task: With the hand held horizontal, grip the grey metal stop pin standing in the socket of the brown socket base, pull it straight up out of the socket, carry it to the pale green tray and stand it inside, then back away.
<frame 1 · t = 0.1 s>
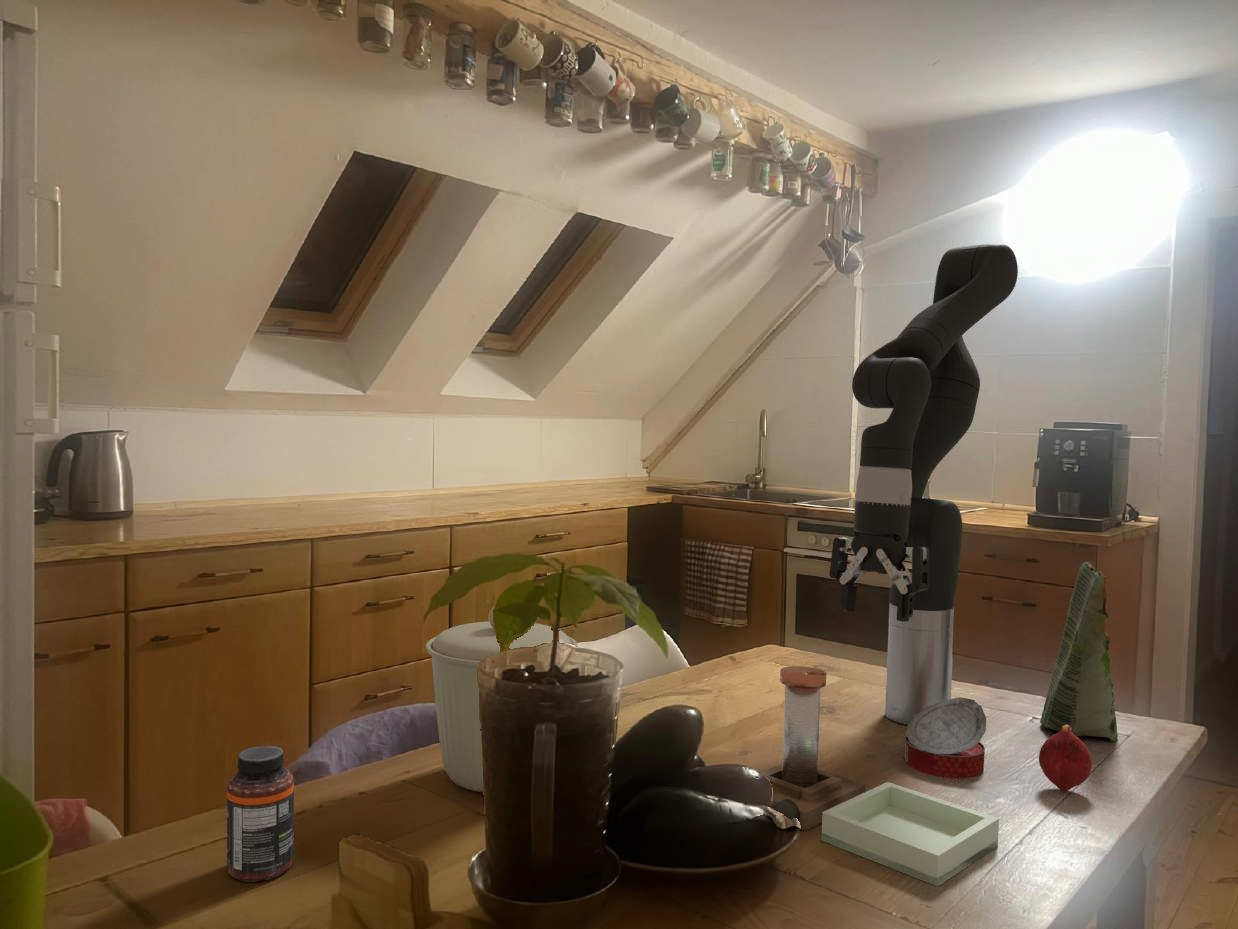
hand: (875, 616, 131), 17 cm above the table, tool pointing down, fingers open, 8 cm apart
onion: (1063, 792, 114), on the table
canned food: (943, 767, 122), on the table
pouch: (1081, 734, 136), on the table
canister: (499, 779, 113), on the table
tray: (909, 843, 98), on the table
supplement bottle: (260, 871, 89), on the table
stop pin: (799, 785, 108), point 2 cm above the table, touching brown socket base
brown socket base: (798, 802, 108), on the table
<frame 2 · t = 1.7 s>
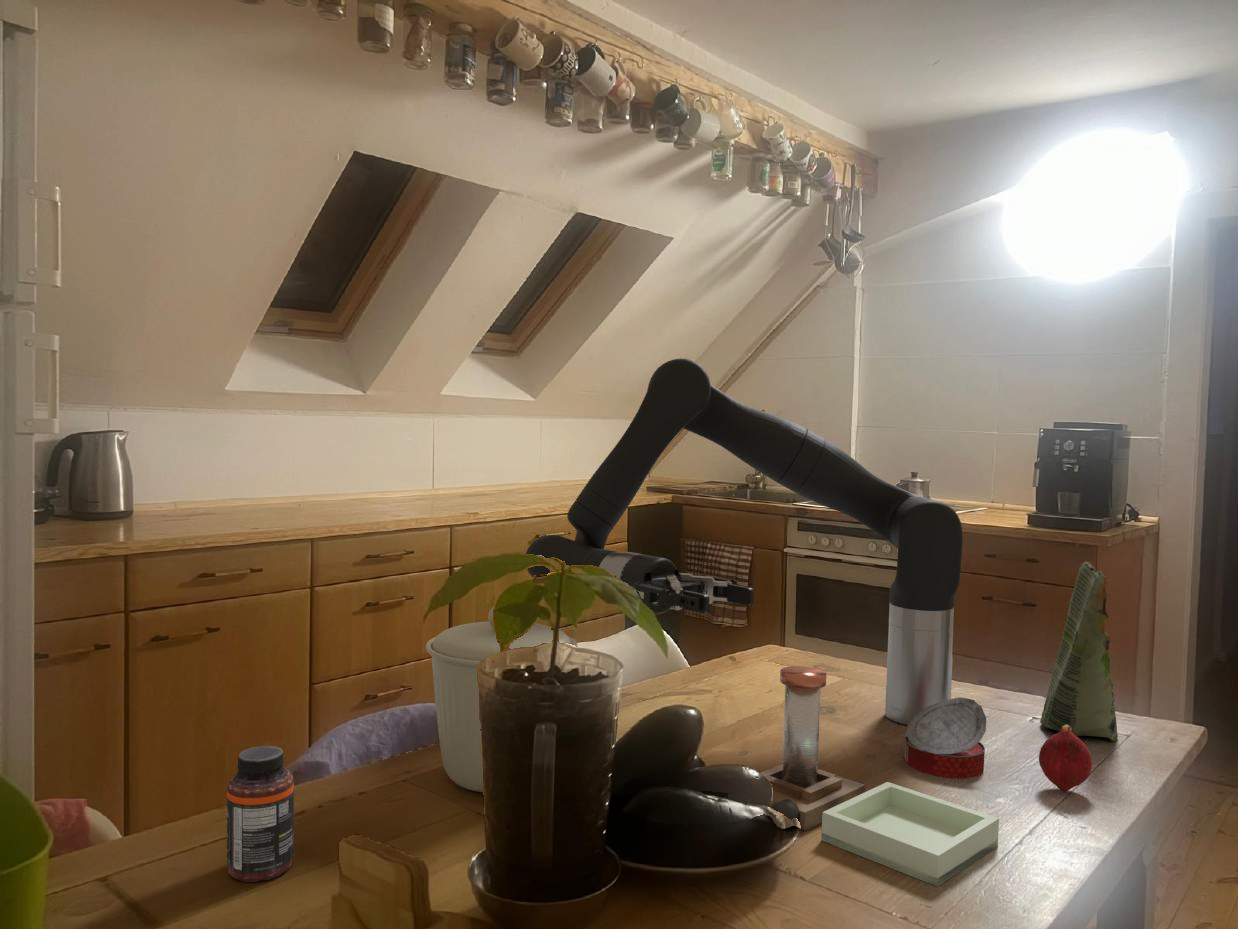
hand: (730, 600, 115), 22 cm above the table, tool horizontal, fingers open, 8 cm apart
nothing on the table moved.
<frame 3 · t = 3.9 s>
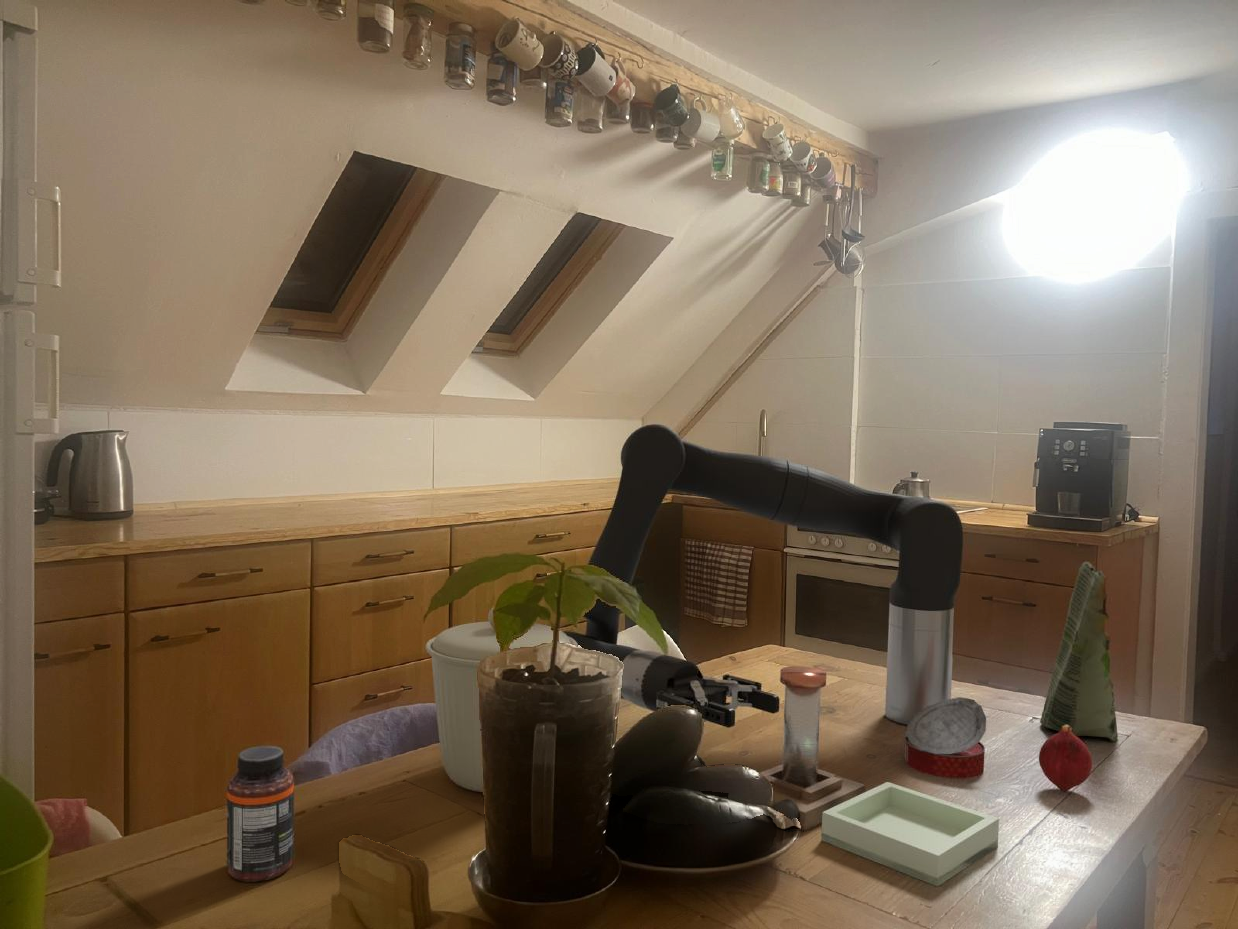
hand: (756, 711, 112), 9 cm above the table, tool horizontal, fingers open, 8 cm apart
nothing on the table moved.
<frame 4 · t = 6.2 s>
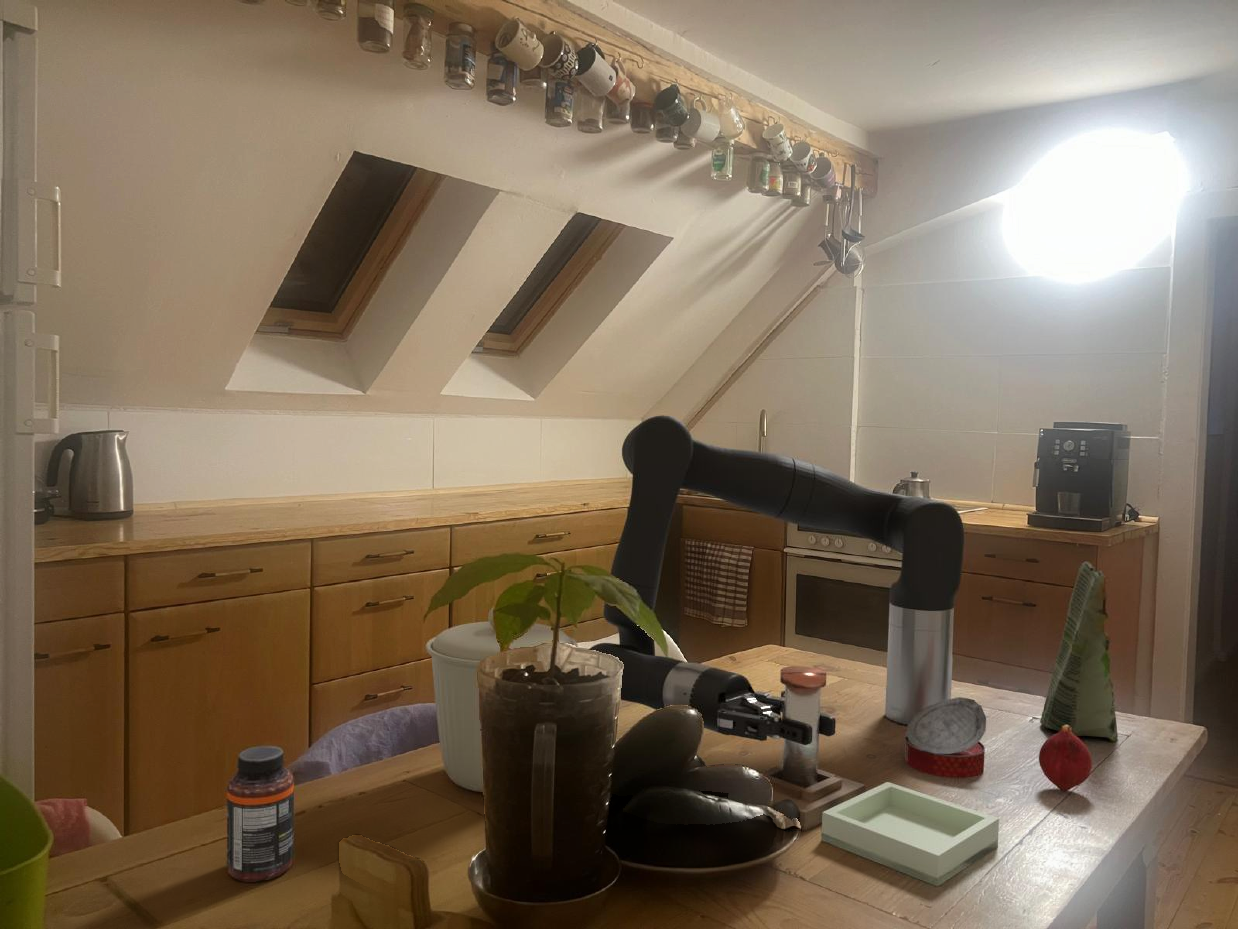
hand: (821, 731, 106), 9 cm above the table, tool horizontal, fingers closed on stop pin, 4 cm apart
stop pin: (799, 785, 108), point 2 cm above the table, touching gripper, brown socket base
everything else where it was.
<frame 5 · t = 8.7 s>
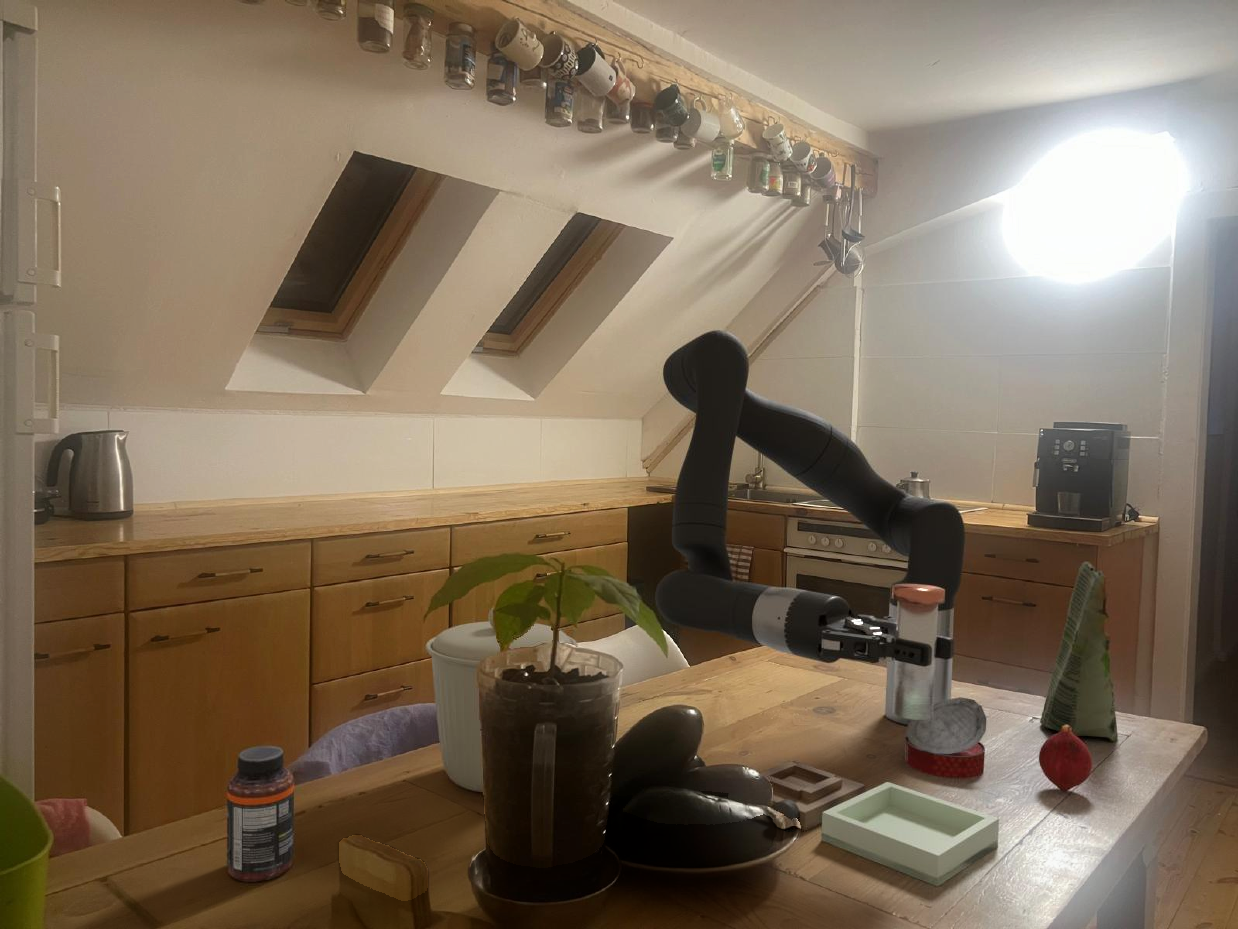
hand: (940, 652, 95), 21 cm above the table, tool horizontal, fingers closed on stop pin, 4 cm apart
stop pin: (912, 713, 97), point 14 cm above the table, touching gripper
everything else where it was.
when the fingers open (9 cm above the table, at t = 11.2 s): stop pin stays where it is, resting on tray.
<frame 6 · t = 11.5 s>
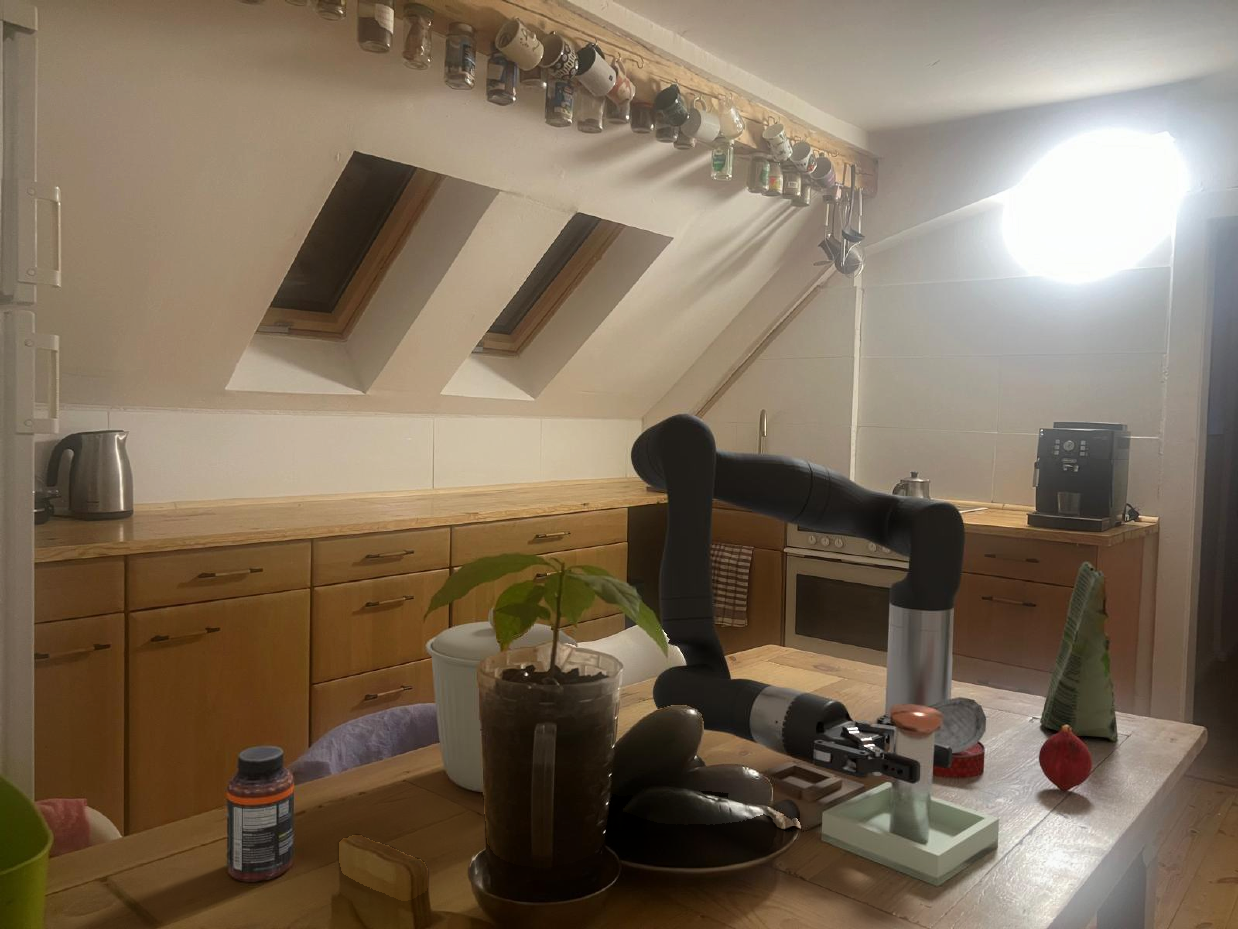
hand: (934, 765, 96), 9 cm above the table, tool horizontal, fingers open, 6 cm apart
stop pin: (908, 835, 98), point 1 cm above the table, touching tray
everything else where it was.
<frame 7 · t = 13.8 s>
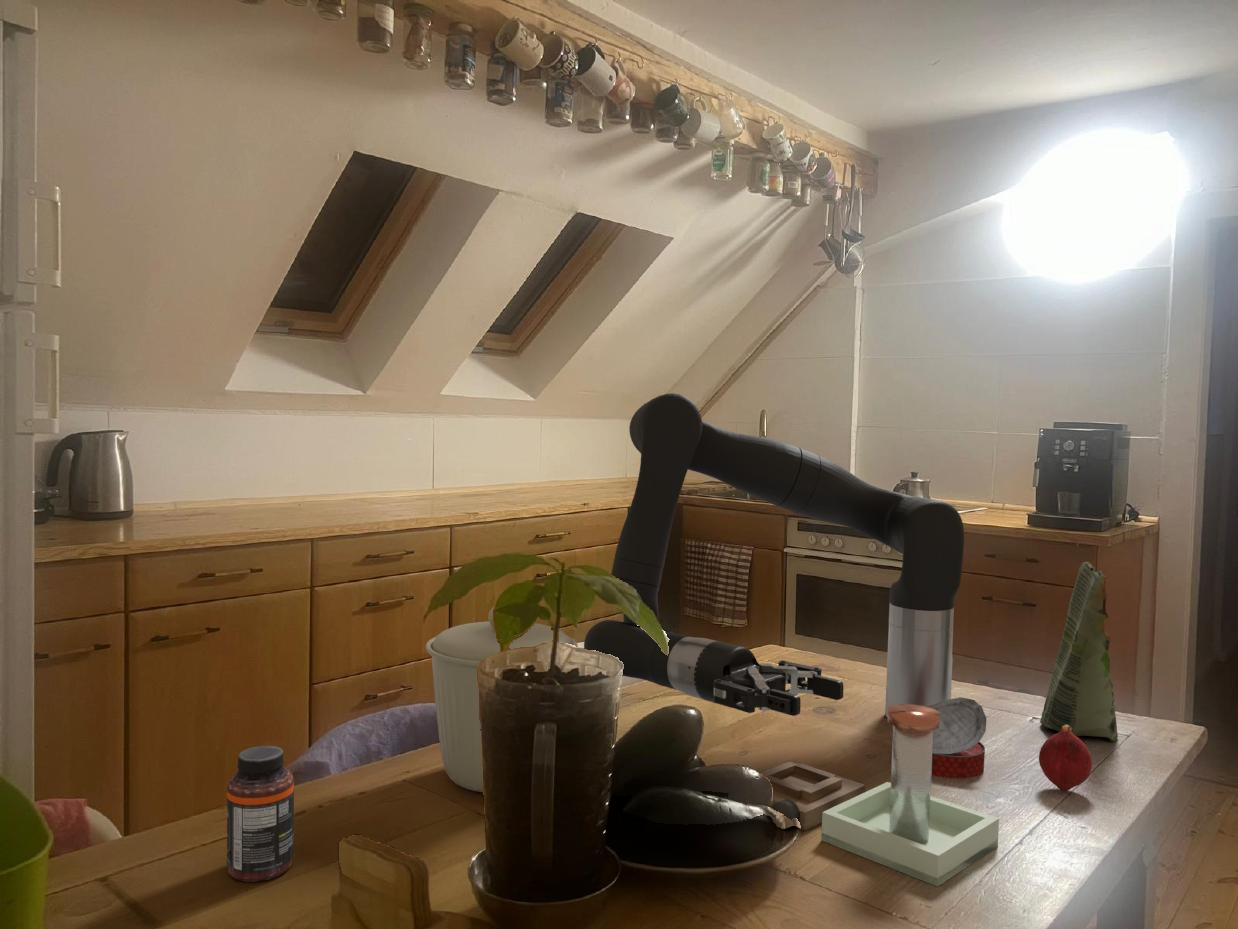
hand: (820, 698, 106), 13 cm above the table, tool horizontal, fingers open, 8 cm apart
nothing on the table moved.
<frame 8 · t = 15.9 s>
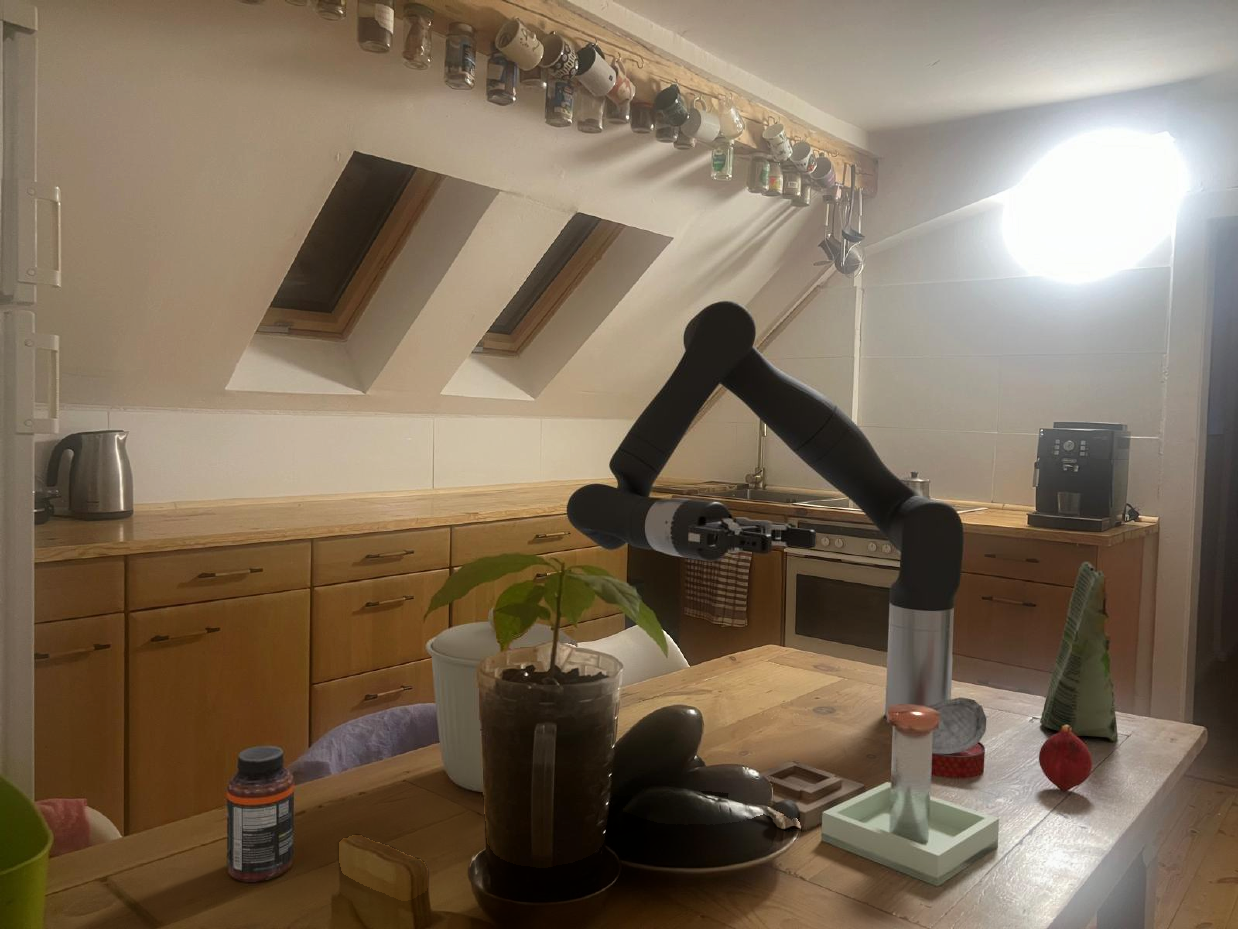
hand: (792, 542, 108), 30 cm above the table, tool horizontal, fingers open, 8 cm apart
nothing on the table moved.
at the end: stop pin inside the target area on the tray (0.1 cm from its centre), point 0.8 cm above the tray's base; stop pin tilted 0°; the gripper is holding nothing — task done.
